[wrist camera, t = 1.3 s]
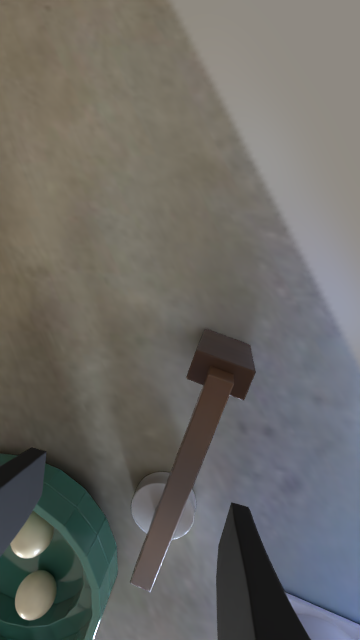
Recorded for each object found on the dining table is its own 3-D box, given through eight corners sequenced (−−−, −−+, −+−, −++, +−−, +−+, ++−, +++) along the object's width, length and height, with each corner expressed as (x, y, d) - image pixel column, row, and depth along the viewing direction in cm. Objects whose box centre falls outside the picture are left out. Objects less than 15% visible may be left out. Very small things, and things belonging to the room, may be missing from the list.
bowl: (145, 495, 23) (128, 543, 19) (92, 642, 26) (68, 708, 23) (-38, 418, 25) (-89, 448, 21) (-66, 567, 28) (-114, 616, 24)
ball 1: (65, 510, 24) (43, 543, 21) (56, 540, 24) (34, 575, 21) (31, 496, 24) (5, 526, 21) (23, 525, 24) (-3, 558, 22)
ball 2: (67, 570, 25) (46, 608, 22) (59, 596, 25) (37, 637, 22) (34, 555, 25) (10, 591, 22) (27, 581, 25) (2, 620, 23)
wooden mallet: (184, 535, 23) (167, 631, 17) (128, 511, 24) (93, 596, 18) (261, 348, 20) (273, 386, 14) (194, 324, 20) (178, 351, 14)
